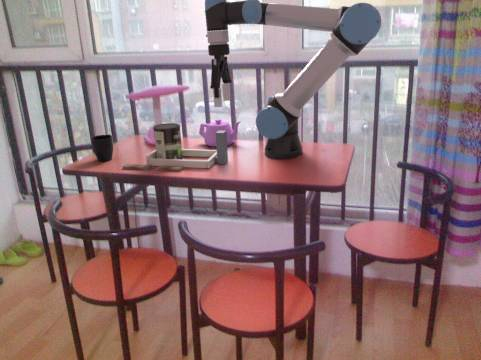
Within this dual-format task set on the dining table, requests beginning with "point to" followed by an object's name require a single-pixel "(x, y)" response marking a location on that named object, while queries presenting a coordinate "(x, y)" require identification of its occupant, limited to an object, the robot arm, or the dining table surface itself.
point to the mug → (103, 147)
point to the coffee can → (168, 141)
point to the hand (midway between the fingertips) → (222, 103)
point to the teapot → (216, 126)
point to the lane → (215, 155)
